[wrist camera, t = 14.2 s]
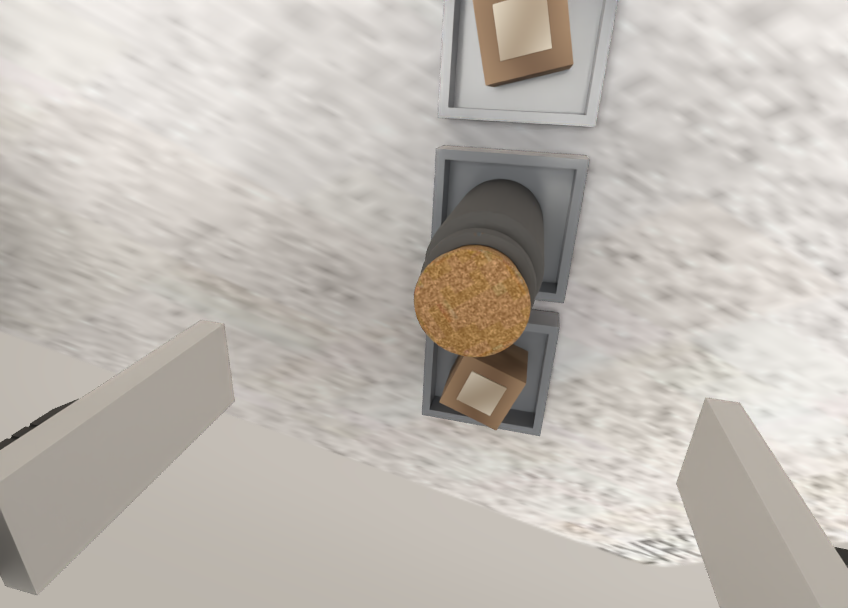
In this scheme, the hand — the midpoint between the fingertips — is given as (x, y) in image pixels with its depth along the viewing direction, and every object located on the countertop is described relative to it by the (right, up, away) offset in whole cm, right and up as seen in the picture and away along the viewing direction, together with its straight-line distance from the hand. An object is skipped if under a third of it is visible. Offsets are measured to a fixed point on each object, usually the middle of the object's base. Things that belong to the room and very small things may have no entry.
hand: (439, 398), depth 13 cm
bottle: (+5, +8, +19) cm, 22 cm away
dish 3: (+5, -2, +24) cm, 25 cm away
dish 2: (+5, +8, +20) cm, 22 cm away
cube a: (+6, +18, +15) cm, 24 cm away
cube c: (+5, -2, +24) cm, 24 cm away
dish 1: (+6, +19, +15) cm, 25 cm away
